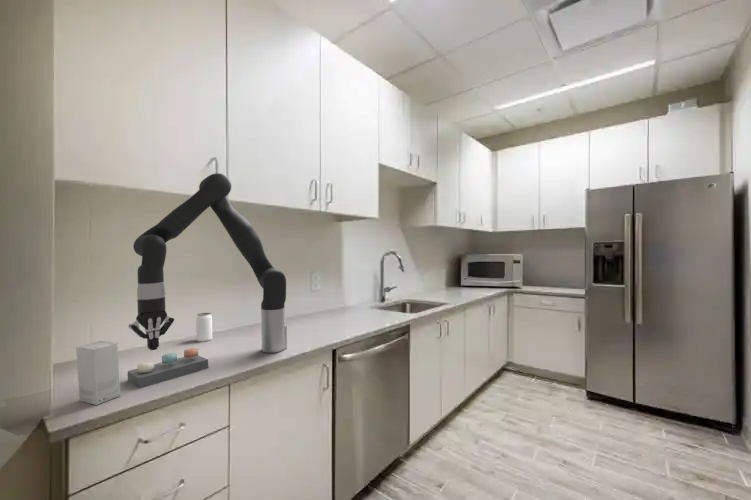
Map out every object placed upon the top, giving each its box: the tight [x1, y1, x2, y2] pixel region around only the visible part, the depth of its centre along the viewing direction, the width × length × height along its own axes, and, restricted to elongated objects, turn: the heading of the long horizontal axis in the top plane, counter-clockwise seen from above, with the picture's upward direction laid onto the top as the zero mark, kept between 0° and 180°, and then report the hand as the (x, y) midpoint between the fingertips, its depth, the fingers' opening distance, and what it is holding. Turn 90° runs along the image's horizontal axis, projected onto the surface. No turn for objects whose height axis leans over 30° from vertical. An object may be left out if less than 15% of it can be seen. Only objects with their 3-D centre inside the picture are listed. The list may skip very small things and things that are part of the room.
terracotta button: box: [183, 347, 199, 358], centre depth 120 cm, size 4×4×2 cm
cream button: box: [136, 361, 155, 373], centre depth 109 cm, size 4×4×2 cm
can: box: [195, 312, 213, 343], centre depth 155 cm, size 6×6×12 cm
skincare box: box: [75, 340, 121, 406], centre depth 96 cm, size 8×7×16 cm
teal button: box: [161, 352, 178, 364], centre depth 114 cm, size 4×4×2 cm
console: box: [127, 355, 209, 389], centre depth 114 cm, size 21×10×3 cm, turn 143°
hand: (153, 349), depth 110 cm, fingers closed
